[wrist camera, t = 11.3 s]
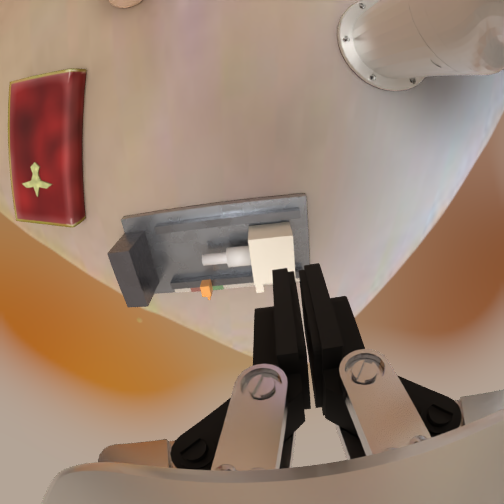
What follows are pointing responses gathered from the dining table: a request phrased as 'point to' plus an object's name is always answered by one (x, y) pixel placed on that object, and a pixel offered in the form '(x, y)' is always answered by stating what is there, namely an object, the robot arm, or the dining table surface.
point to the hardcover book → (47, 147)
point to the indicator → (206, 288)
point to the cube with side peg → (260, 253)
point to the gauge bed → (199, 245)
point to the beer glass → (124, 3)
